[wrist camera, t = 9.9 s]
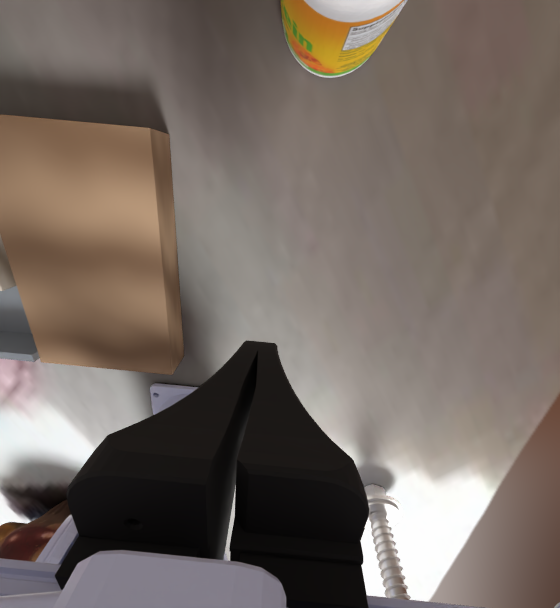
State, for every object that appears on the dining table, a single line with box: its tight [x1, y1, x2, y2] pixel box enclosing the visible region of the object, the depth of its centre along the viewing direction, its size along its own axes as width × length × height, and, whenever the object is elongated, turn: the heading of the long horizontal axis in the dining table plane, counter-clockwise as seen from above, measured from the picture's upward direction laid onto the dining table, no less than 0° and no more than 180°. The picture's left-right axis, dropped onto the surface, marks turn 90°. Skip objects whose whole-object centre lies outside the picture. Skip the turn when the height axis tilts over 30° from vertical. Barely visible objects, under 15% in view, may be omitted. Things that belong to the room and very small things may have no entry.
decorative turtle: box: [0, 500, 71, 562], centre depth 30 cm, size 10×15×8 cm, turn 84°
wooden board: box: [0, 114, 184, 375], centre depth 19 cm, size 16×10×2 cm, turn 175°
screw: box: [364, 484, 410, 600], centre depth 24 cm, size 13×5×5 cm
